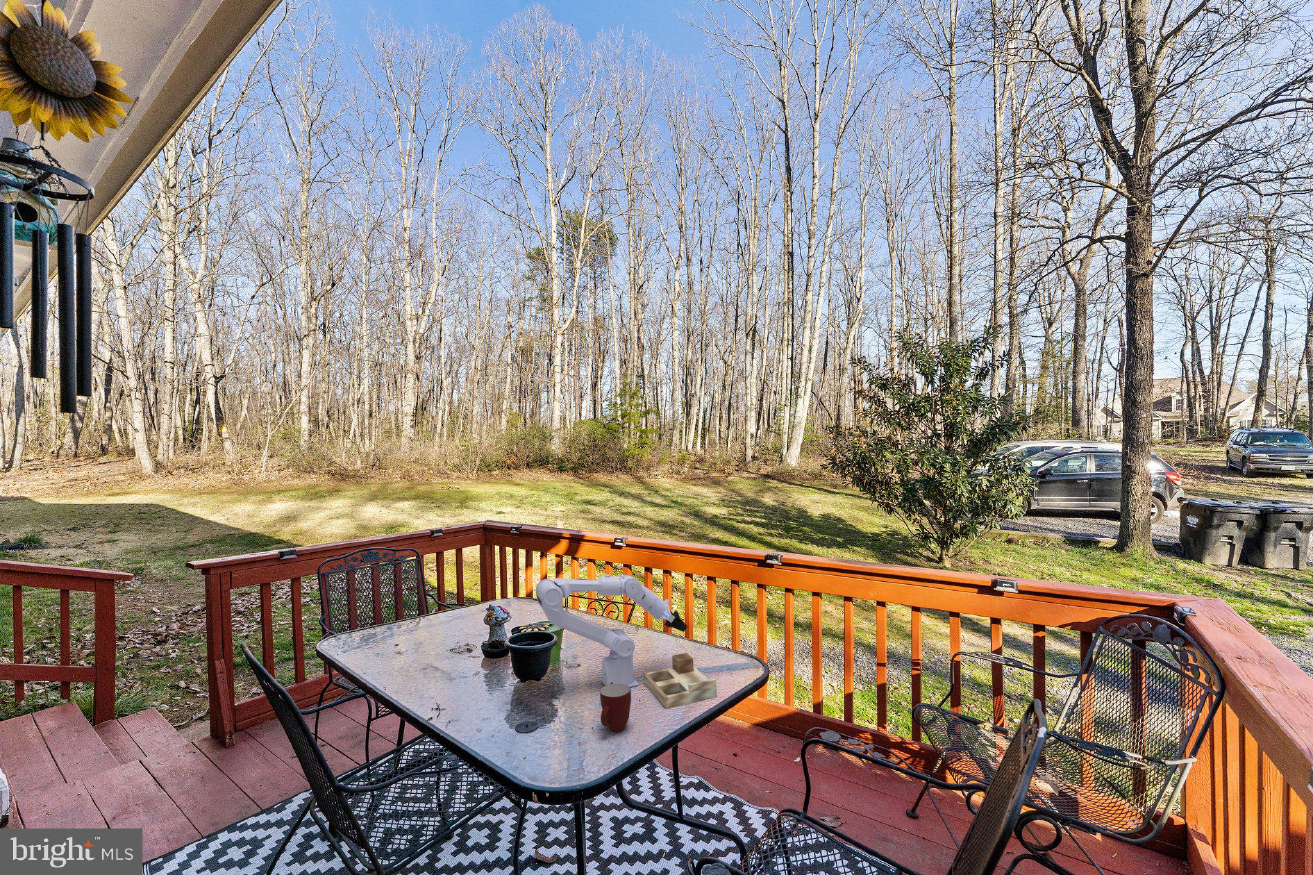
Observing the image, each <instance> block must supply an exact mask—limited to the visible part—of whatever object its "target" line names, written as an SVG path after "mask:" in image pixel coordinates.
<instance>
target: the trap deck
mask: <svg viewBox="0 0 1313 875" xmlns="http://www.w3.org/2000/svg"><path fill="white" fill-rule="evenodd" d="M643 684H644V685H645V686H646V688H647V689H648V688H649V689H648V690H649V691H650V692H651V694H652V695H653V696H654V697H655V699H657V701H658V702H659V703H660V704H661V705H662V706H663V708H664V709H665V710H666V709H671V708H674V707H678V706H684V705H687V704H691V703H696V702H700V701H703V700H708V699H713V698H714V699H715V698H718V694H717V693H718V692H717V691H718V690H717V679H716V678H713V679H709V678H708V677H707V676H705V675H704V674H703V673H702V672H701V671H699V669H697V668H696V667H695V666H694V671H693V672H688V673H683V674H678V673H677V672H676V671H675V670H674V669H673V667H670V668H664V669H659V670H655V671H651V672H645V673H643Z"/></svg>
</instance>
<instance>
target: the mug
mask: <svg viewBox="0 0 1313 875" xmlns="http://www.w3.org/2000/svg"><path fill="white" fill-rule="evenodd" d="M631 688H632V687H629V686H628V685H626V684H621V683H615V684H609V685H606V686H605V685H604V686H603V687H602V688H601V689H600V690H599V692H600V693H599V694H600V698H599V700H600V706H601V714H600V723H601V725H602V726H603V727H606V728H607V727H608V729H609V730H610V731H612V732H621V731H623V730H624V729H625V728H626V725H627V724H628V722H629V719H630V714H631V713H630V712H631V704H632V691H631V690H632V689H631Z"/></svg>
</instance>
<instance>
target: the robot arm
mask: <svg viewBox="0 0 1313 875" xmlns="http://www.w3.org/2000/svg"><path fill="white" fill-rule="evenodd" d="M590 592H591V593H592V592H596V593H597V594H598V595H599V596H600V597H601V596H604V597H605V596H606V597H607V596H608V597H609V596H610V597H611V596H613V597H614V596H615V597H616V596H617V597H619V596H623V595H624V596H626V597H627V598H629V599H631V600H633V602H634V603H635V604H636V605H638V606H640V608H642V609H643V610H645V611H646V612H647V613H649V614H650V615H651V616H652V617H653V618H654V619H655V620H660V621H661V620H663V621H665V622H664V624H663V625H664V626H665V627H667V628H672V629H676V630H678V631H680V632H682V633H684V632H686V630H687V629H688V625H687V624H686V623H685V621H683V619H682V618H681V616H680V614H679V612H678V611H677V610H674V612H673V611H671V609H670V605H669V604H670V600H669V599H668V598H665V600H663V599H662V598H661V597H659V596H658V595H657V594H655V593H654V592H653V591H651V589H649V588H647V587H646V586H644V585H643V584H642V583H641V581H640V580H639V579H638V580H637V579H636V578H634V576H631V575H628V574H620V575H619V576H611V575H610V574H604V576H599V577H598V578H597V579H595V580H594V579H574V578H560V577H559V578H552V579H550V578H544V579H541V580H540V581H539V582H537V584H536V586H535V597H536V601H537V603H538V605H539V607H540V609H541V610H542V611H543V613H544V614H545V617H546V618H547V620H548V621H549V623H550V624H551V625H552V626H553V625H554V626H556V627H558V628H561V629H563V630H566V631H568V632H570V633H573V634H575V635H578V636H581V637H584V638H585V639H588V640H591V641H592V642H596V643H597V644H600V645H602V646H604V647H606V648H607V649H609V655H607V656H605V657H602V660H601V668H602V669H601V670H602V681H601V682H602V683H603V685H604V686H606V685H609V684H615V683H621V684H626V685H628V686H629V687H630V688H632V687H637V686H639V682H638V681H637V679H636V678H635V670H634V652H635V649H636V643H635V640H633V638H632V637H631V636H629V635H627V634H626V633H625V632H624V630H623V629H620V628H610V627H605V626H603V625H600V624H597V623H595V622H592V621H591V620H588V619H586V618H584V617H581V616H578V615H576V614H573V613H571V612H569V611H566V610H564V606H563V599H567V598H568V597H569V596H570V595H571V594H572V593H590Z"/></svg>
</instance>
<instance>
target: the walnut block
mask: <svg viewBox="0 0 1313 875" xmlns="http://www.w3.org/2000/svg"><path fill="white" fill-rule="evenodd" d="M671 659H672V660H671V663H672V668H673V669H674V670H675V671H676V672H677V673H678V674H683V673H688V672H693V671H694V667H695V666H694V658H693V657H692V656H691V655H690V654H689V653H688V652H685V653H678V654H673V655H672V656H671Z"/></svg>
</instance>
